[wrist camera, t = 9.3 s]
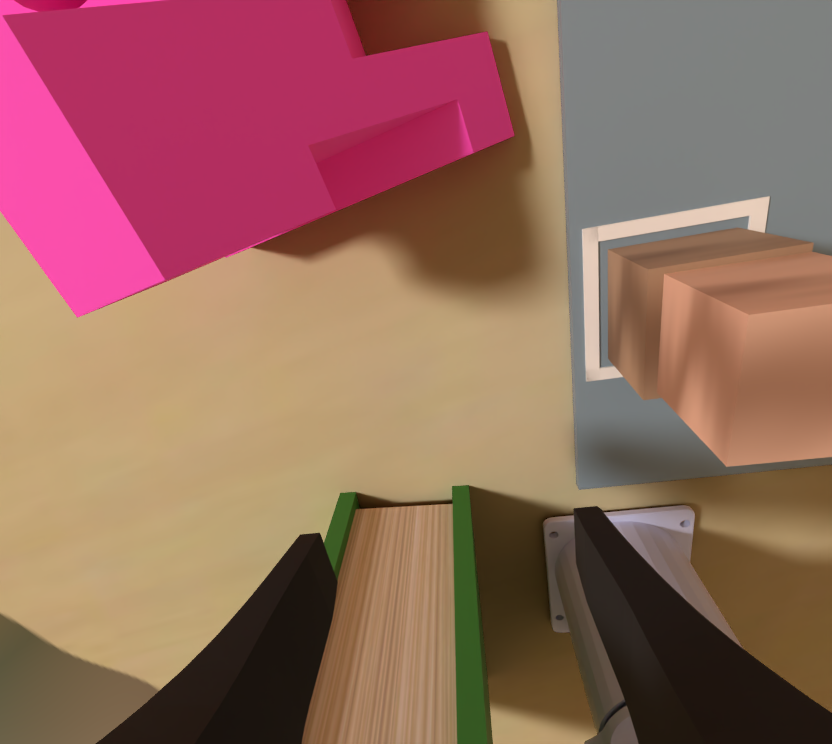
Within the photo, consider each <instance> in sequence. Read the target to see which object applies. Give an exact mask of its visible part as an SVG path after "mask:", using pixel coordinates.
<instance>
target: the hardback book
mask: <svg viewBox="0 0 832 744" xmlns="http://www.w3.org/2000/svg"><path fill="white" fill-rule="evenodd" d="M452 499H453V504H441V505H423V506H405V507H387V508H369V509H360V507H359V503H358V499H357V495H356V492H350V493H340V496H339V499H338V502H337V505H336V508H335V511H334V514H333V517H332V520H331V523H330V526H329V529H328V532H327V535H326V539H325V542H324V546H325V548H326V551H327V554H328V557H329V559H330V562H331V565H332V567H333V570H334V573H335V576H336V578H337V581H338V584H337V592H336V599H335V606H334V612H333V619H332V623H331V627H330V631H329V634H328V638H327V642H326V646H325V650H324V653H323V657H322V661H321V664H320V668H319V672H318V676H317V679H316V683H315V687H314V690H313V694H312V698H311V702H310V705H309V710H308V714H307V718H306V723H305V727H304V733H303V738H302V744H493V740H492V728H491V715H490V703H489V691H488V678H487V668H486V658H485V647H484V637H483V627H482V617H481V606H480V596H479V586H478V575H477V565H476V555H475V544H474V534H473V524H472V513H471V503H470V493H469V485H466V486H452Z"/></svg>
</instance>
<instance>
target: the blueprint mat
mask: <svg viewBox="0 0 832 744" xmlns="http://www.w3.org/2000/svg"><path fill="white" fill-rule="evenodd" d="M557 6H558V31H559V57H560V82H561V107H562V132H563V157H564V182H565V207H566V233H567V258H568V283H569V308H570V333H571V358H572V384H573V409H574V434H575V459H576V484H577V486H578V488H579V490H581V489H591V488H601V487H611V486H621V485H631V484H641V483H652V482H662V481H672V480H682V479H692V478H702V477H712V476H722V475H732V474H742V473H752V472H762V471H772V470H782V469H792V468H803V467H813V466H823V465H832V457H826V458H815V459H804V460H794V461H783V462H772V463H762V464H751V465H740V466H730V467H726V466H725V465H724V463H723V462H722V461H721V460H720V459H719V458H718V457H717V456H716V455H715V454H714V453H713V452H712V451H711V450H710V449H709V448H708V446H707V445H706V444H705V443H704V442H703V441H702V440H701V439H700V438H699V437H698V436H697V435H696V434H695V433H694V432H693V431H692V429H691V428H690V427H689V426H688V425H687V424H686V423H685V422H684V421H683V420H682V419H681V418H680V417H679V416H678V415H677V414H676V412H675V411H674V410H673V409H672V408H671V407H670V406H669V405H668V404H667V403H666V402H665V401H664V400H663V399H662V398H658V399H650V400H643V399H642V398H641V397H640V396H639V395H638V393H637V392H636V391H635V390H634V389H633V387H632V386H631V385H630V384H629V383H628V382H627V380H626V379H625V378H624V377H623V376H622V375H621V373H620V372H619V371H618V370H617V369H616V368H615V366H614V365H613V364H612V363H611V362H610V360H609V359H608V249H613V248H619V247H625V246H631V245H636V244H642V243H648V242H654V241H660V240H666V239H672V238H678V237H684V236H690V235H696V234H702V233H708V232H714V231H719V230H725V229H731V228H737V227H738V228H743V229H748V230H753V231H758V232H763V233H768V234H773V235H778V236H783V237H788V238H793V239H798V240H802V241H807V242H812V243H814V245H813V250H812V252H816V253H820V254H825V255H829V256H832V0H557Z"/></svg>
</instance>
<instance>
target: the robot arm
mask: <svg viewBox="0 0 832 744" xmlns="http://www.w3.org/2000/svg"><path fill="white" fill-rule="evenodd" d="M684 520H685V521H684ZM682 521H684V522H682ZM694 521H695V513H694V511H693V510H692V508H691V507H689V506H687V505H680V506H669V507H658V508H647V509H637V510H626V511H615V512H603V511H602V510H601V509H600V508H599V507H597V506H595V507H584V508H574V515H571V516H560V517H551V518H547V519H546V520H545V521H544V522H543V531H544V543H545V555H546V568H547V580H548V592H549V604H550V616H551V625H552V629H553V630H554V631H555V632H559V633H563V632H570V635H571V639H572V643H573V647H574V650H575V654H576V658H577V662H578V666H579V669H580V673H581V677H582V681H583V684H584V688H585V692H586V696H587V700H588V703H589V707H590V711H591V715H592V718H593V722H594V726H595V729H596V731H597V735H596V736H595V737H593V738H591V739H589V740H587V741H585V743H584V744H832V713H831V712H830V711H828V710H827V709H825V708H824V707H822V706H821V705H819V704H818V703H816V702H815V701H813V700H812V699H810V698H809V697H808V696H806V695H805V694H803V693H802V692H801V691H799V690H798V689H797V688H795V687H794V686H792V685H791V684H790V683H788V682H787V681H786V680H784V679H783V678H781V677H780V676H779V675H777V674H776V673H775V672H773V671H772V670H771V669H769V668H768V667H766V666H765V665H764V664H762V663H761V662H760V661H758V660H757V659H756V658H754V657H753V656H752V655H750V654H749V653H748V652H747V651H745V650H744V649H743V647H742V646H741V644H740V642H739V641H738V639H737V637H736V636H735V634H734V633H733V631H732V629H731V628H730V626H729V625H728V623H727V621H726V620H725V618H724V617H723V615H722V613H721V612H720V610H719V608H718V607H717V605H716V604H715V602H714V600H713V599H712V597H711V596H710V594H709V592H708V591H707V589H706V587H705V586H704V584H703V583H702V581H701V579H700V578H699V576H698V575H697V573H696V571H695V570H694V568H693V566H692V565H691V563H690V560H691V550H692V540H693V531H694ZM551 532H555V533H551ZM337 584H338V581H337V578H336V576H335V573H334V570H333V567H332V565H331V562H330V559H329V557H328V554H327V551H326V548H325V546H324V543H323V540H322V537H321V535H320V533H313V534H303V535H300V536H299V537H298V538H297V539H296V541H295V542H294V543H293V544H292V546H291V547H290V548H289V549H288V551H287V552H286V553H285V554H284V556H283V557H282V558H281V560H280V561H279V562H278V563H277V565H276V566H275V567H274V568H273V570H272V571H271V572H270V574H269V575H268V576H267V577H266V579H265V580H264V581H263V582H262V583H261V585H260V586H259V587H258V588H257V590H256V591H255V592H254V593H253V595H252V596H251V597H250V598H249V599H248V601H247V602H246V603H245V604H244V605H243V606H242V608H241V609H240V610H239V611H238V612H237V613H236V614H235V616H234V617H233V618H232V619H231V620H230V621H229V622H228V624H227V625H226V626H225V627H224V628H223V629H222V630H221V631H220V633H219V634H218V635H217V636H216V637H215V638H214V639H213V640H212V641H211V642H210V643H209V644H208V645H207V646H206V647H205V648H204V649H203V650H202V651H201V652H200V653H199V654H198V655H197V656H196V657H195V658H194V659H193V660H192V661H191V662H190V663H189V664H188V665H187V666H186V667H185V668H184V669H183V670H182V671H181V672H180V673H179V674H178V675H177V676H175V677H174V678H173V679H172V680H171V681H170V682H169V683H168V684H167V685H165V686H164V687H163V688H162V689H161V690H160V691H159V692H158V693H157V694H155V696H153V697H152V698H151V699H150V700H149V701H148V702H147V703H146V704H144V705H143V706H142V707H141V708H140V709H138V710H137V711H136V712H135V713H133V714H132V715H131V716H130V717H129V718H127V719H126V720H125V721H124V722H123V723H122V724H120V725H119V726H118V727H117V728H115V729H114V730H113V731H111V732H110V733H109V734H108V735H106V736H105V737H104V738H103V739H101V740H100V741H99V742H97V743H96V744H302V738H303V733H304V727H305V723H306V718H307V714H308V710H309V705H310V702H311V698H312V694H313V690H314V687H315V683H316V679H317V676H318V672H319V668H320V664H321V661H322V657H323V653H324V650H325V646H326V642H327V638H328V634H329V631H330V627H331V623H332V619H333V612H334V606H335V599H336V592H337Z"/></svg>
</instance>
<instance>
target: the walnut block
mask: <svg viewBox="0 0 832 744" xmlns="http://www.w3.org/2000/svg"><path fill="white" fill-rule="evenodd" d="M813 245H814V243H812V242H807V241H802V240H798V239H793V238H788V237H783V236H778V235H773V234H768V233H763V232H758V231H753V230H748V229H743V228H738V227H737V228H731V229H725V230H719V231H714V232H708V233H702V234H696V235H690V236H684V237H678V238H672V239H666V240H660V241H654V242H648V243H642V244H636V245H631V246H625V247H619V248H613V249H608V359H609V360H610V362H611V363H612V364H613V365H614V366H615V368H616V369H617V370H618V371H619V372H620V373H621V375H622V376H623V377H624V378H625V379H626V380H627V382H628V383H629V384H630V385H631V386H632V387H633V389H634V390H635V391H636V392H637V393H638V395H639V396H640V397H641V398H642V399H643V400H650V399H658V398H661V397H660V395H659V394H658V393H657V381H658V364H659V348H660V332H661V316H662V299H663V283H664V274H667V273H674V272H680V271H687V270H694V269H701V268H707V267H714V266H721V265H727V264H734V263H741V262H747V261H754V260H761V259H767V258H774V257H781V256H788V255H794V254H801V253H808V252H812V250H813Z"/></svg>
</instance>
